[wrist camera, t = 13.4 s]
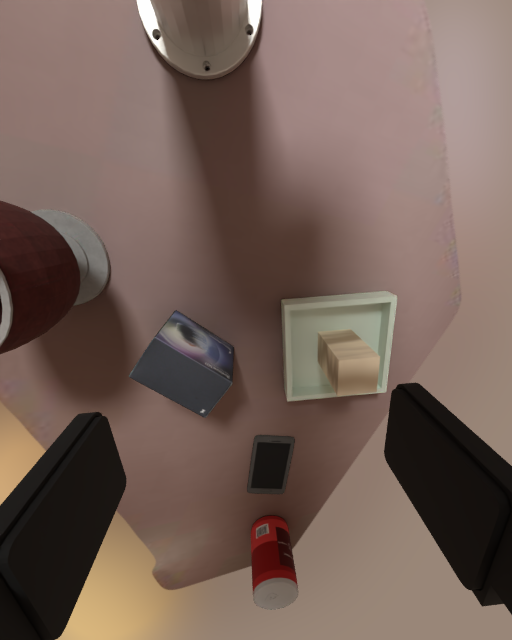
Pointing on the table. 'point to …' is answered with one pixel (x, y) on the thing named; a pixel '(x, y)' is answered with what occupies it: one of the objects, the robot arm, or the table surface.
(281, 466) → the cell phone
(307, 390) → the tray
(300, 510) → the table surface
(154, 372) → the small box
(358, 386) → the block
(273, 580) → the canned food
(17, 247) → the mate gourd
